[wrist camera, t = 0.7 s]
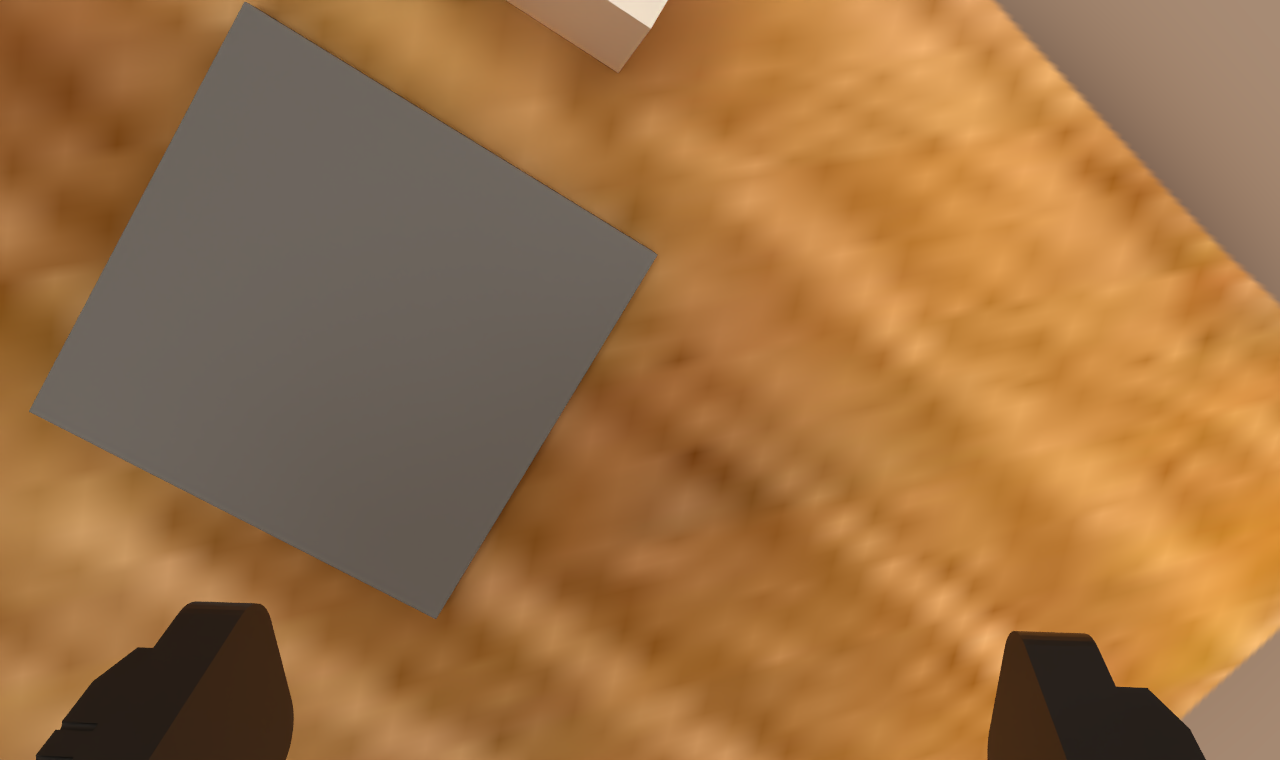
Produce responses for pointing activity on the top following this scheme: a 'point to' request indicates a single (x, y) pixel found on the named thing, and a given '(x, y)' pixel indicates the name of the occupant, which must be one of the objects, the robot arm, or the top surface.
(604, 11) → the white rectangular block
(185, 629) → the robot arm
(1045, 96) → the top surface
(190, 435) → the mat
